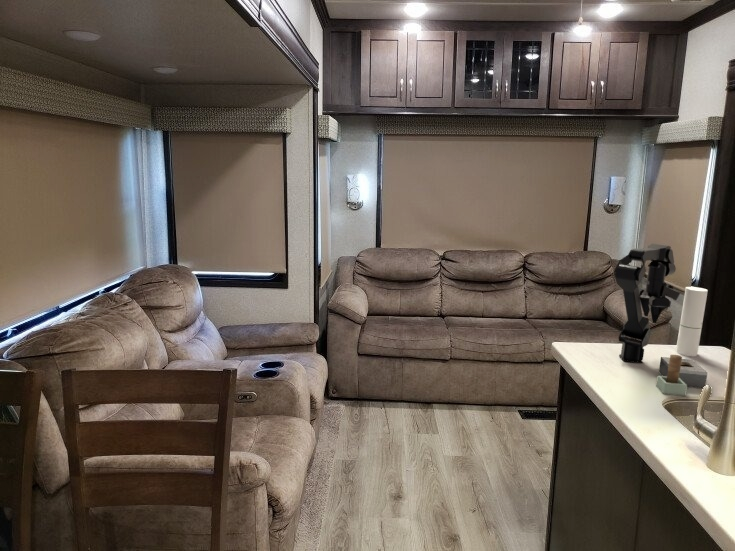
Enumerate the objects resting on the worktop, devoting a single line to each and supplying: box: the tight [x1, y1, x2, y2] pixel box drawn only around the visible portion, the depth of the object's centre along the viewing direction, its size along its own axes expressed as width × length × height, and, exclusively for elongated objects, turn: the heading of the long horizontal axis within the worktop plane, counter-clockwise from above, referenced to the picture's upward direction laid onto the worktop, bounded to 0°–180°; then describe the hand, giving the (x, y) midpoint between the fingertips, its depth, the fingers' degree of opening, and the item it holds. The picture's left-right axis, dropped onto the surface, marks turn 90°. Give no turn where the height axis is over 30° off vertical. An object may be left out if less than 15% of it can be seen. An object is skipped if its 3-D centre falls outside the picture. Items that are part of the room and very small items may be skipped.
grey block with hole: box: [658, 356, 708, 389], centre depth 185 cm, size 10×12×6 cm
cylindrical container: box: [675, 286, 709, 357], centre depth 212 cm, size 7×7×25 cm
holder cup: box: [656, 375, 688, 397], centre depth 176 cm, size 6×6×4 cm
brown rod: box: [666, 354, 683, 384], centre depth 175 cm, size 3×3×11 cm
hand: (649, 319), depth 210 cm, fingers open, 9 cm apart
